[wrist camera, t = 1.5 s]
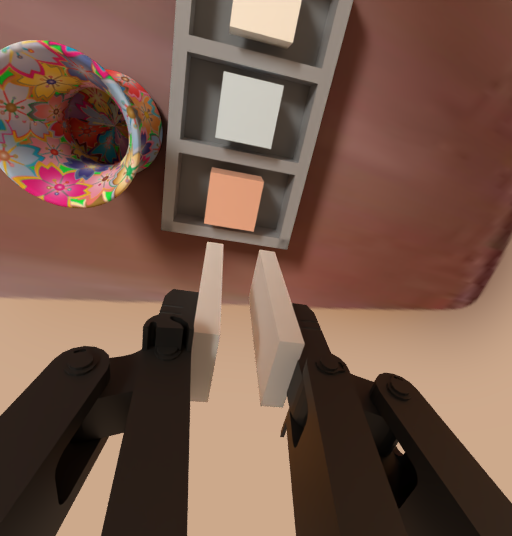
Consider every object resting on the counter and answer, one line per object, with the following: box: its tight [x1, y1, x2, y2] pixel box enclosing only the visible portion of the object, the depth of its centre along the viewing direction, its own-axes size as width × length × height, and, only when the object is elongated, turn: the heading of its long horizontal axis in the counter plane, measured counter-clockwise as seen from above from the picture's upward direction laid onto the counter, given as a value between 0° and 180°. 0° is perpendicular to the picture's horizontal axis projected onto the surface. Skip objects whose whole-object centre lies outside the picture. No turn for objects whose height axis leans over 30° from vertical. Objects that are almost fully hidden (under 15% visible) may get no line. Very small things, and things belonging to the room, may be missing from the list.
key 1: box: [204, 167, 264, 232], centre depth 27 cm, size 4×4×2 cm
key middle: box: [215, 71, 284, 149], centre depth 24 cm, size 4×4×2 cm
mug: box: [0, 40, 163, 208], centre depth 23 cm, size 12×9×11 cm
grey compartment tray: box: [161, 0, 353, 250], centre depth 26 cm, size 22×12×4 cm, turn 169°
